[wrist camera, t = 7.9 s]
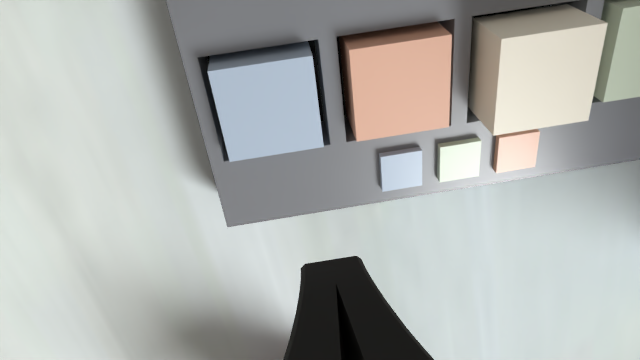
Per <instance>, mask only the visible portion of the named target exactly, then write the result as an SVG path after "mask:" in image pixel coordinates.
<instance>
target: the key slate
mask: <svg viewBox="0 0 640 360" xmlns="http://www.w3.org/2000/svg"><path fill="white" fill-rule="evenodd" d="M207 72H208V76H209V80H210V84H211V88H212V92H213V97H214V101H215V105H216V109H217V113H218V117H219V121H220V125H221V129H222V133H223V137H224V141H225V145H226V149H227V153H228V157H229V161H230V162H233V161H239V160H245V159H252V158H258V157H264V156H271V155H277V154H283V153H289V152H296V151H302V150H308V149H315V148H321V147H324V144H323V136H322V128H321V120H320V112H319V104H318V96H317V88H316V80H315V72H314V64H313V56H312V53H311V50H310V47H309V44H308V41H304V42H297V43H290V44H284V45H277V46H270V47H264V48H257V49H250V50H244V51H237V52H230V53H224V54H217V55H211V56H210V60H209V65H208V71H207Z"/></svg>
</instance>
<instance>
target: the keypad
mask: <svg viewBox="0 0 640 360" xmlns="http://www.w3.org/2000/svg"><path fill="white" fill-rule="evenodd" d="M166 3H167V7H168V10H169V14H170V18H171V21H172V25H173V29H174V32H175V36H176V40H177V43H178V47H179V51H180V54H181V58H182V62H183V65H184V69H185V73H186V76H187V80H188V84H189V87H190V91H191V95H192V98H193V102H194V106H195V109H196V113H197V117H198V120H199V124H200V128H201V132H202V135H203V139H204V143H205V146H206V150H207V154H208V157H209V161H210V165H211V168H212V172H213V176H214V179H215V183H216V187H217V190H218V194H219V198H220V201H221V205H222V209H223V212H224V216H225V220H226V223H227V227H231V226H237V225H244V224H250V223H256V222H262V221H268V220H274V219H280V218H286V217H292V216H298V215H304V214H311V213H317V212H323V211H329V210H335V209H341V208H347V207H353V206H359V205H365V204H371V203H378V202H384V201H390V200H396V199H402V198H408V197H414V196H420V195H426V194H432V193H439V192H445V191H451V190H457V189H463V188H469V187H475V186H481V185H487V184H493V183H499V182H506V181H512V180H518V179H524V178H530V177H536V176H542V175H548V174H554V173H560V172H566V171H573V170H579V169H585V168H591V167H597V166H603V165H609V164H615V163H621V162H627V161H634V160H640V97H634V98H628V99H622V100H616V101H609V102H602V101H600V100H599V99H597V98H596V97H595V96H593V100H592V105H591V110H590V115H589V120H588V121H582V122H576V123H570V124H564V125H557V126H551V127H545V128H539V129H532V130H526V131H520V132H514V133H507V134H501V135H495V136H493V135H492V134H491V132H490V131H489V130H488V129H487V128H486V127H485V126H484V125H483V123H482V122H481V121H480V120H479V119H478V118H477V117H476V115H475V114H474V113H473V112H472V111H471V110H470V109H469V107H468V88H469V69H470V50H471V31H472V16H477V15H483V14H490V13H497V12H503V11H510V10H517V9H523V8H530V7H537V6H543V5H550V4H555V6H557V5H564V4H568V5H570V6H572V7H575V8H577V9H579V10H581V11H583V12H585V13H587V14H590V15H592V16H594V17H596V18H598V19H600V20H601V16H602V11H603V6H604V0H166ZM430 22H438V23H439V24H440V25H442V26H443V27H444V28H445V29H446V30H447V31H448V32H450V33H451V34H452V48H451V80H450V112H449V127H447V128H440V129H434V130H428V131H421V132H415V133H409V134H403V135H396V136H390V137H384V138H377V139H371V140H365V141H359V142H357V141H356V139H355V136H354V133H353V131H352V128H351V126H350V123H349V120H348V118H344V112H343V102H342V91H341V81H340V70H339V60H338V49H337V39H336V37H337V36H344V35H350V34H357V33H364V32H370V31H377V30H384V29H390V28H397V27H404V26H410V25H417V24H423V23H430ZM310 40H314V45H315V53H316V61H317V69H318V78H319V86H320V94H321V103H322V111H323V119H324V121H322V122H321V128H322V136H323V144H324V147H321V148H315V149H308V150H302V151H296V152H289V153H283V154H277V155H271V156H264V157H258V158H252V159H245V160H239V161H233V162H230V161H229V157H228V153H227V149H226V145H225V141H224V137H223V133H222V129H221V125H220V121H219V117H218V113H217V109H216V105H215V101H214V97H213V92H212V88H211V84H210V80H209V76H208V72H207V71H208V62H207V58H206V56H211V55H217V54H224V53H230V52H237V51H244V50H250V49H257V48H264V47H270V46H277V45H284V44H290V43H297V42H304V41H310Z"/></svg>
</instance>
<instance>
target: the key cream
mask: <svg viewBox="0 0 640 360" xmlns="http://www.w3.org/2000/svg"><path fill="white" fill-rule="evenodd" d="M607 25H608V23H607V22H605V21H603V20H600V19H598V18H596V17H594V16H592V15H590V14H587V13H585V12H583V11H581V10H579V9H577V8H575V7H572V6H570V5H568V4H564V5H557V6H551V7H544V8H537V9H531V10H524V11H518V12H511V13H504V14H498V15H491V16H484V17H478V18H473V23H472V41H471V60H470V79H469V98H468V107H469V109H470V110H471V111H472V112H473V113H474V114H475V115H476V117H477V118H478V119H479V120H480V121H481V122H482V123H483V125H484V126H485V127H486V128H487V129H488V130H489V131H490V132H491V134H492V135H493V136H495V135H501V134H507V133H514V132H520V131H526V130H532V129H539V128H545V127H551V126H557V125H564V124H570V123H576V122H582V121H588V120H589V115H590V110H591V105H592V100H593V95H594V90H595V85H596V80H597V75H598V70H599V65H600V60H601V55H602V50H603V45H604V40H605V35H606V30H607Z"/></svg>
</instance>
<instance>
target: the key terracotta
mask: <svg viewBox="0 0 640 360" xmlns="http://www.w3.org/2000/svg"><path fill="white" fill-rule="evenodd" d="M339 45H340V56H341V67H342V77H343V88H344V99H345V110H346V115H347V118H348V120H349V123H350V126H351V128H352V131H353V133H354V136H355V139H356V141H357V142H359V141H365V140H371V139H377V138H384V137H390V136H396V135H403V134H409V133H415V132H421V131H428V130H434V129H440V128H447V127H449V112H450V80H451V48H452V34H451V33H450V32H448V31H447V30H446V29H445V28H444V27H443V26H442V25H440V24H439V23H438V22H430V23H423V24H417V25H410V26H404V27H397V28H390V29H384V30H377V31H370V32H364V33H357V34H350V35H344V36H339Z"/></svg>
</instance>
